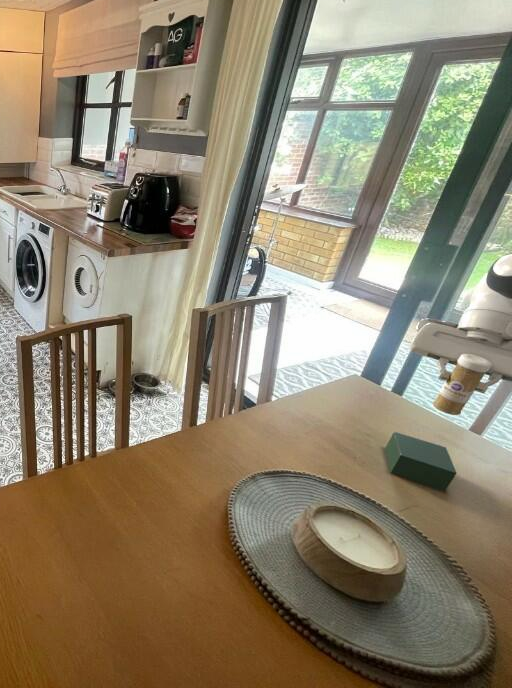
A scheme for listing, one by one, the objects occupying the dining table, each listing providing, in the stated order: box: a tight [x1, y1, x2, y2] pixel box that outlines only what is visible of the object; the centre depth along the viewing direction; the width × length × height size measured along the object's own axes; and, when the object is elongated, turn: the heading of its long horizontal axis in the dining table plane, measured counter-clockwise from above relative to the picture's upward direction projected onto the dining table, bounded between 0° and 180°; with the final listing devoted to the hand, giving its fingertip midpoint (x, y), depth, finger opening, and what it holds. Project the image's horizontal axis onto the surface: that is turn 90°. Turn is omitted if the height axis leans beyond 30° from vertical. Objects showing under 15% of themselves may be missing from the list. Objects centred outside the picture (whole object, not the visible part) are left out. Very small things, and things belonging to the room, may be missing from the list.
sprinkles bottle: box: [432, 354, 492, 416], centre depth 89 cm, size 5×5×13 cm
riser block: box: [384, 431, 457, 492], centre depth 93 cm, size 9×9×6 cm
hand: (461, 385), depth 88 cm, fingers closed on sprinkles bottle, 4 cm apart
